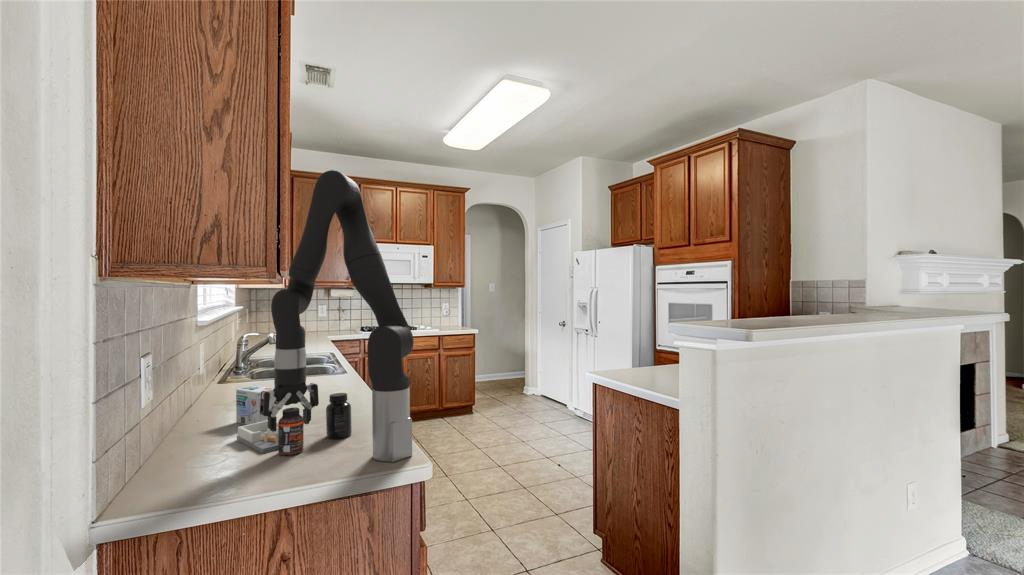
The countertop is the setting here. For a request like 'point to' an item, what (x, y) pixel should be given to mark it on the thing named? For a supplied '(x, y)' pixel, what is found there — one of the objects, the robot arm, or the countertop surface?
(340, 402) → the supplement bottle
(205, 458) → the countertop surface
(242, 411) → the light bulb box
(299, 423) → the supplement bottle
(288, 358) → the robot arm
